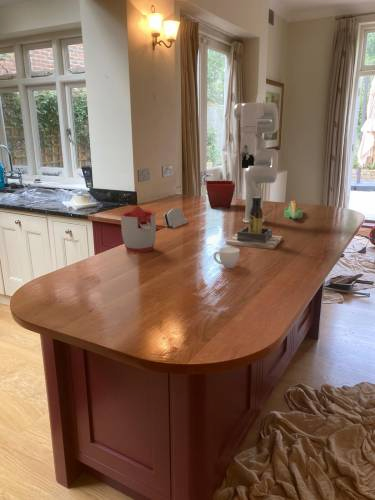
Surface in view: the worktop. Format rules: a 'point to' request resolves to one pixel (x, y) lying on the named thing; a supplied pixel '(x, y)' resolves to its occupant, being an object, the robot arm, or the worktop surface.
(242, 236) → the bottle dock
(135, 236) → the citrus juicer
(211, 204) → the plant pot
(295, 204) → the toy spaceship
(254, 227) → the sauce bottle
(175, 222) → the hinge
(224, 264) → the cup
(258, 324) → the worktop surface
